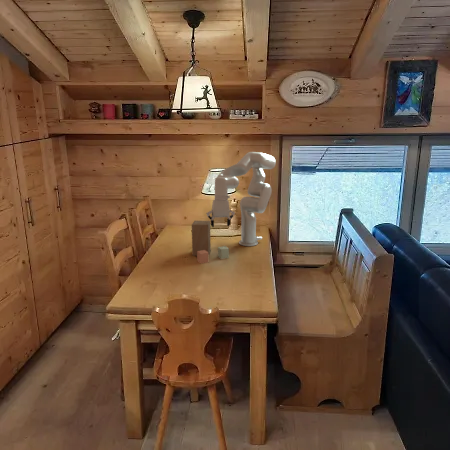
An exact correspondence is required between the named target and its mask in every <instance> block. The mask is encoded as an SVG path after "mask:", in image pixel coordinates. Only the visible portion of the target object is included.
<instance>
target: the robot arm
mask: <svg viewBox="0 0 450 450" xmlns="http://www.w3.org/2000/svg"><path fill="white" fill-rule="evenodd" d="M275 167H276V159H275V157H274V156H272V155H271V154H267V153H263V152H258V151H257V152H256V151H249V152H247V153H246V154H245V155H243V157H241V159H240V160H238V162H237V163H235V164H233V165H230V166H228V167H226V168H225V169H223V170H222V171H220V173H219V174H218V175H217V177H215V178H214V199H213V200H212V206H211V210H209V211H207V212H206V213H205V214H206V216H207V218H208V219H209V220H210V226H211V227H212V228H214V227H215V221H214V220H215V218H227V219H226V225H227V227H230V225H231V220H232V219H233V218H234V216H235V214H236V213H235V211H233V210H231V209H230V203H229V200H228V199H231V196H230V195H228V191H229V190H230V189H231V190H234V189H236V188H238V186H239V185H240V180H239V178H238V177H240V176H245V175H246V174H248V172H250V170H251V169H252V177H251V179H250V181H249V182H250V183H249V185H248V187H247V195H249V196H243V197H242V198H241V199H240V202H239V207H240V212H241V227H240V228H241V236H240V237H241V240H239V242H238V243H239V245H241V246H245V247H254V246H257V245H258V244H259V242H258V241H259V240H260V241H261V240H263V237H262V236H258V235H257V234H256V232H257V231H256V230H257V215H256V214H263V213H264V212H265V211H266V209H267V206H268V204H269V201H270V199H271V196H272V191H273V190H272V185H270V184H269V183H266V182H265V180H266V174H265V172H264V170H272V169H274V168H275ZM228 189H229V190H228ZM230 213H231V215H230ZM210 215H211V216H210Z"/></svg>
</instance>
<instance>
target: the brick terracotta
mask: <svg viewBox="0 0 450 450" xmlns="http://www.w3.org/2000/svg"><path fill="white" fill-rule="evenodd" d="M209 255H210V253H208V252H207V251H206V250H202V251H197V256H196V257H197V258H196V259H197V262H198V263H200V264H205V263H209V261H210V260H209Z"/></svg>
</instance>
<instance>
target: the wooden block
mask: <svg viewBox="0 0 450 450" xmlns="http://www.w3.org/2000/svg"><path fill="white" fill-rule="evenodd" d="M211 245H212V244H211V220H193V221H192V224H191V246H192V247H191V251H192V256H193V257H197V251H202V250H206V251H207V252H208V253H209V254H211V252H212V251H211V250H212V249H211Z"/></svg>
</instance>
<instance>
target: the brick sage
mask: <svg viewBox="0 0 450 450" xmlns="http://www.w3.org/2000/svg"><path fill="white" fill-rule="evenodd" d="M217 257H218V258H219V259H221V260H224V259H229V258H230V248H229V247H227V246H226V245H223V246H218V247H217Z"/></svg>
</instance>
